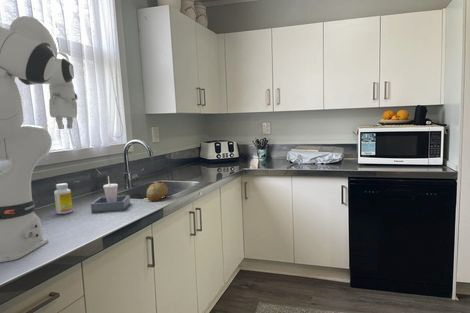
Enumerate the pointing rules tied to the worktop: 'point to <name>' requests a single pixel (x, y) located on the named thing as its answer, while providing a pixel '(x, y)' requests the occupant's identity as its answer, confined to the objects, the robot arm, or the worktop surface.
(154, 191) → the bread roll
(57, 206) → the supplement bottle
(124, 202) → the tray
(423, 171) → the worktop surface
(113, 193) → the smoothie
